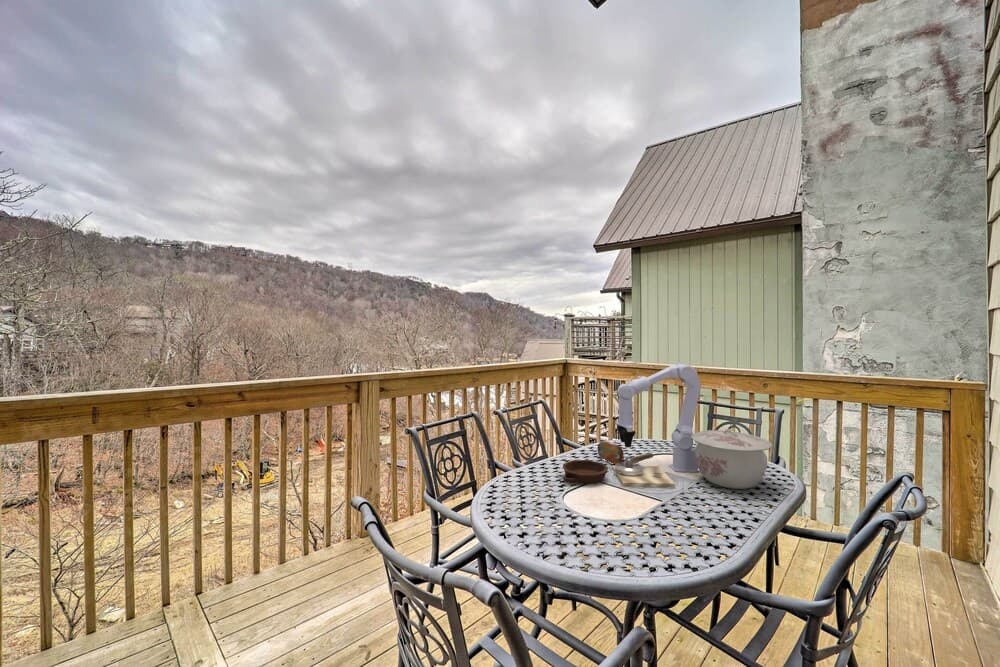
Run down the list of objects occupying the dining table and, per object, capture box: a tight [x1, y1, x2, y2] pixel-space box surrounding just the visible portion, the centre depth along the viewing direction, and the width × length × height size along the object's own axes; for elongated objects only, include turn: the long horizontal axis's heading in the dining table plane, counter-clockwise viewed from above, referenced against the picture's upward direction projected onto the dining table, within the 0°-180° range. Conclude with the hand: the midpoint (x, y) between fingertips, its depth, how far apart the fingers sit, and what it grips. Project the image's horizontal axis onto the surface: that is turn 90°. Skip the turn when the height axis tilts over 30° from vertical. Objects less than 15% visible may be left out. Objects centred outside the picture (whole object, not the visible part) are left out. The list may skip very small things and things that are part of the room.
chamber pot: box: [691, 428, 773, 490], centre depth 166 cm, size 28×28×21 cm
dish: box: [562, 459, 609, 485], centre depth 171 cm, size 18×22×5 cm
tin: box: [597, 440, 625, 465], centre depth 191 cm, size 15×3×8 cm, turn 25°
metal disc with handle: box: [614, 452, 654, 476], centre depth 176 cm, size 20×11×5 cm, turn 122°
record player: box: [612, 464, 676, 488], centre depth 171 cm, size 19×20×2 cm
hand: (625, 444), depth 184 cm, fingers open, 7 cm apart
